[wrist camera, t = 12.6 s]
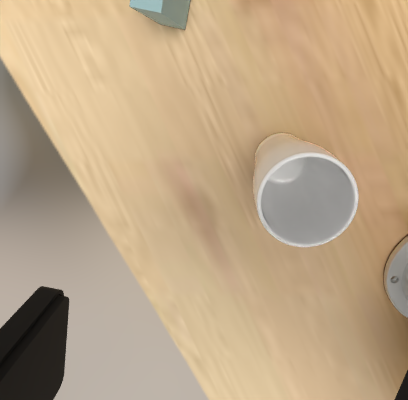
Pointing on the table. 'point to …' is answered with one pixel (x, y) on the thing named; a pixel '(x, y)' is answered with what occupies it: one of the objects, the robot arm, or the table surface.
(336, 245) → the table surface
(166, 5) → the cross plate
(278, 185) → the drinking glass
